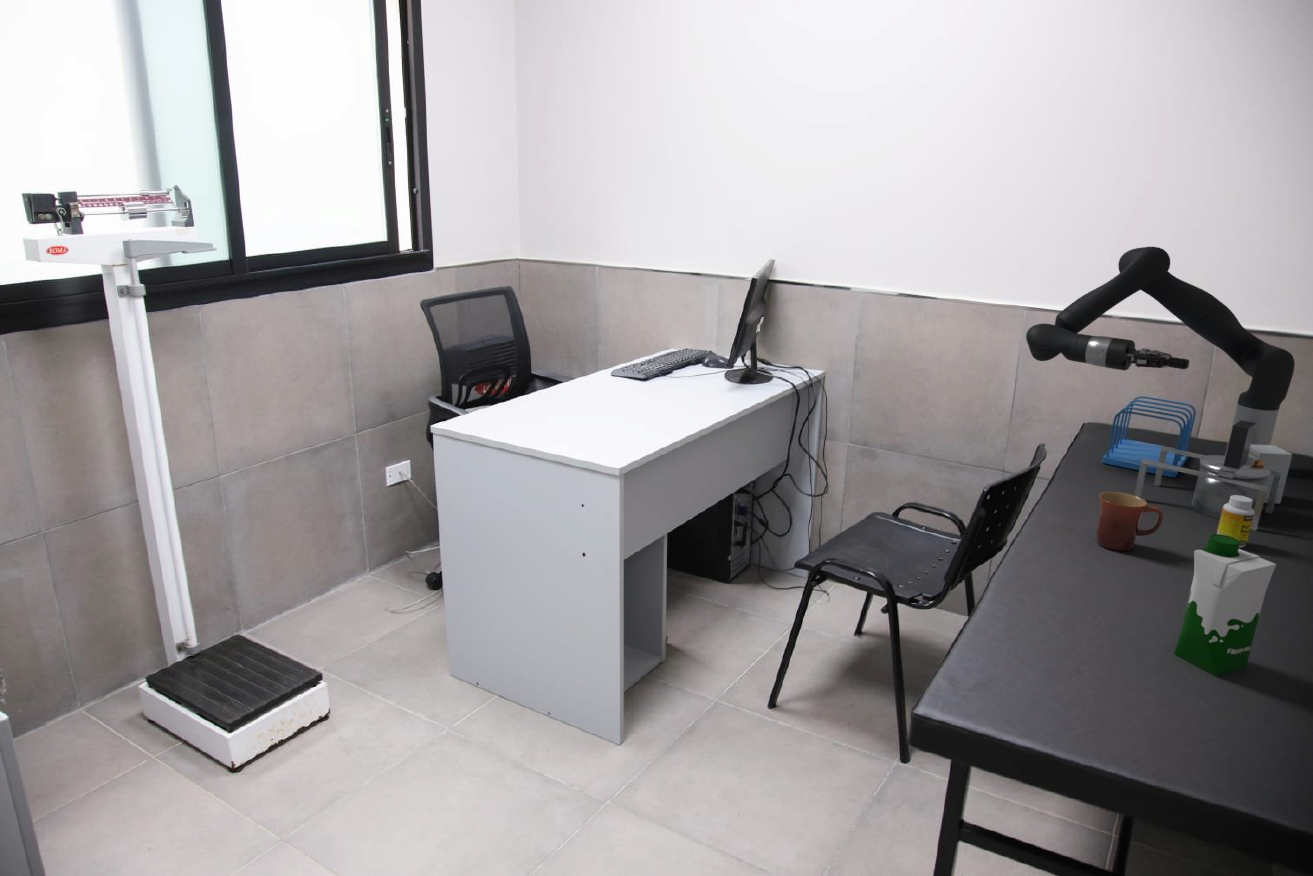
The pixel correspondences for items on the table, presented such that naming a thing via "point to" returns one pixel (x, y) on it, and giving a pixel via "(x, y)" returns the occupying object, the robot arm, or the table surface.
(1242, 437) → the steel lid
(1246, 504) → the supplement bottle
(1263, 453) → the supplement box
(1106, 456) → the file sorter
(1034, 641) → the table surface
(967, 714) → the table surface
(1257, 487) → the cooker pot
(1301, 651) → the table surface
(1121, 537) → the mug
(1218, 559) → the milk carton
